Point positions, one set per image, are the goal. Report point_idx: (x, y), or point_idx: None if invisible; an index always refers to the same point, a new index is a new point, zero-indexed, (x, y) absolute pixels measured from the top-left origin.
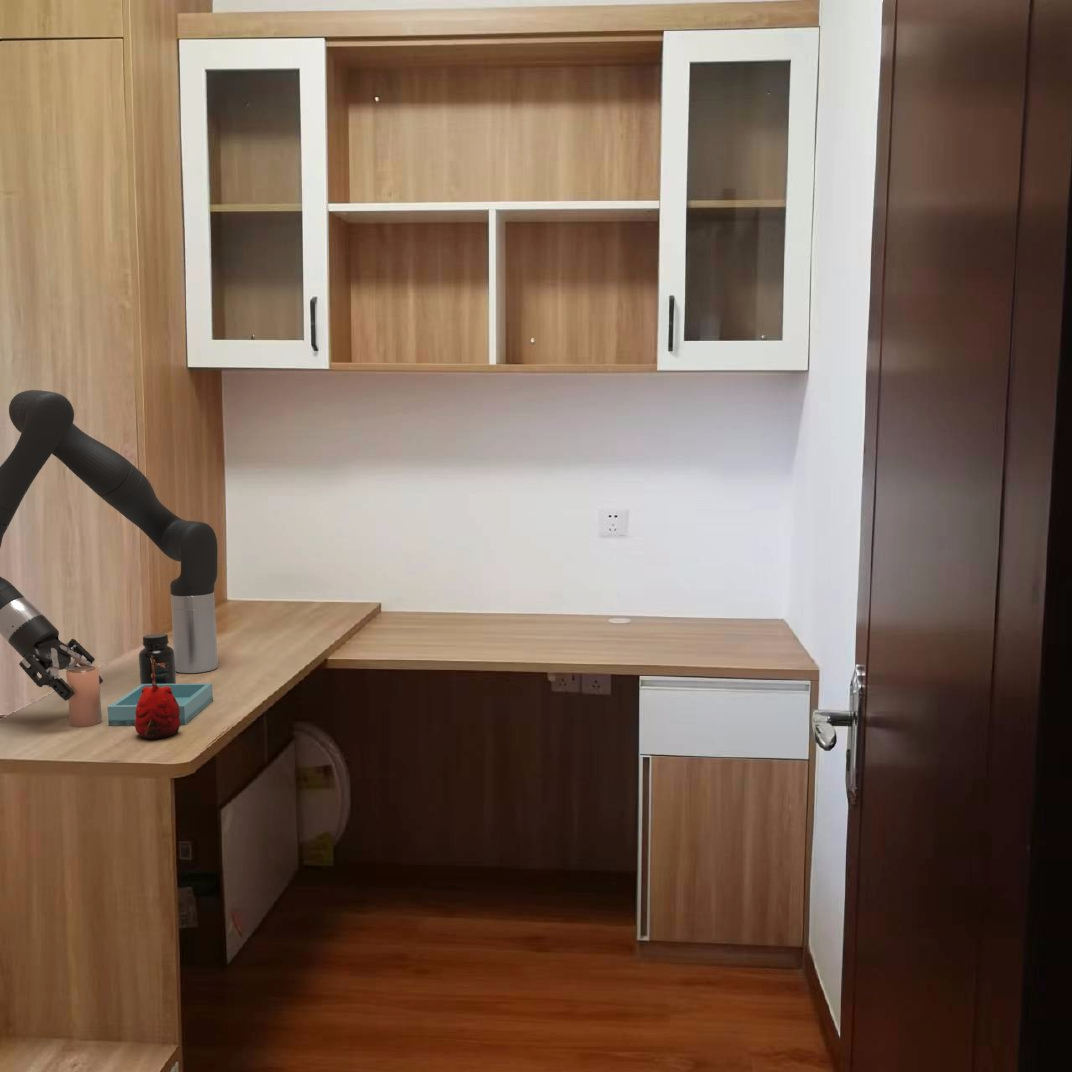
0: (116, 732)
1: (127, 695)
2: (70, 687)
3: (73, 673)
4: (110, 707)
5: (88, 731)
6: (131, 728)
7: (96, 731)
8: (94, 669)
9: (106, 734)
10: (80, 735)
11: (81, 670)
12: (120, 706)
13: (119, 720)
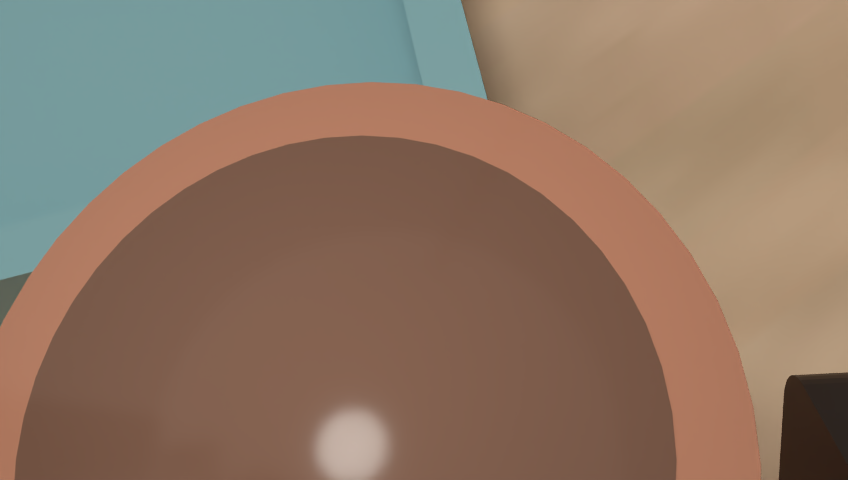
0: (664, 50)
1: None
2: (838, 434)
3: (740, 422)
4: None
5: (712, 288)
6: (539, 12)
7: (690, 219)
8: (278, 152)
9: (736, 88)
10: (841, 279)
11: (444, 376)
12: (461, 37)
13: None
